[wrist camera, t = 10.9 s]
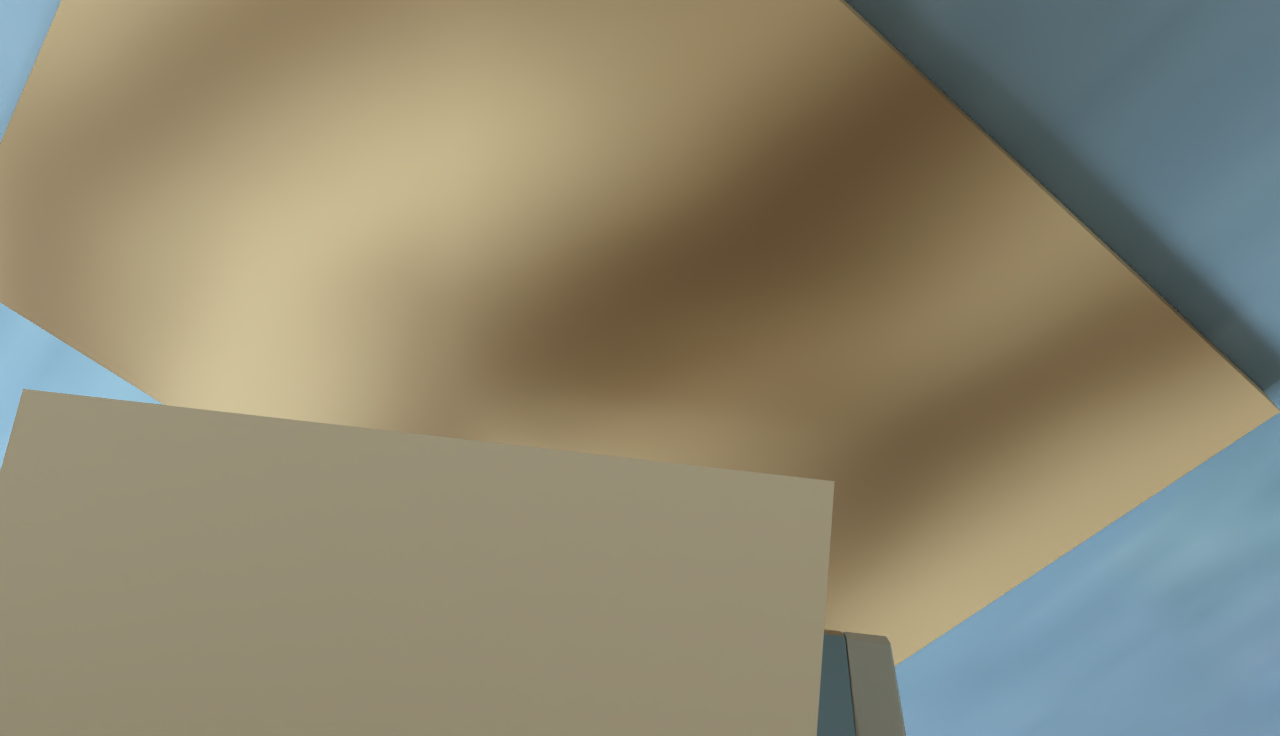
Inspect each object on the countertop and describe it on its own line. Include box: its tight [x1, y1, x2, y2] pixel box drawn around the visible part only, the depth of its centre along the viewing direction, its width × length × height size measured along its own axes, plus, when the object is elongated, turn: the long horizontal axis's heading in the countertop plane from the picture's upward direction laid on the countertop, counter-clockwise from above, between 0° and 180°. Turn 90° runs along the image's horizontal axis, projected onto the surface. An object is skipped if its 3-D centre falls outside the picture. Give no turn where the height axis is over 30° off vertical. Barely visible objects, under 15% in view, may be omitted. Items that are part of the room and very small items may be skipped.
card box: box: [0, 389, 835, 736], centre depth 12 cm, size 4×6×11 cm
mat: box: [0, 0, 1280, 666], centre depth 18 cm, size 20×14×1 cm
